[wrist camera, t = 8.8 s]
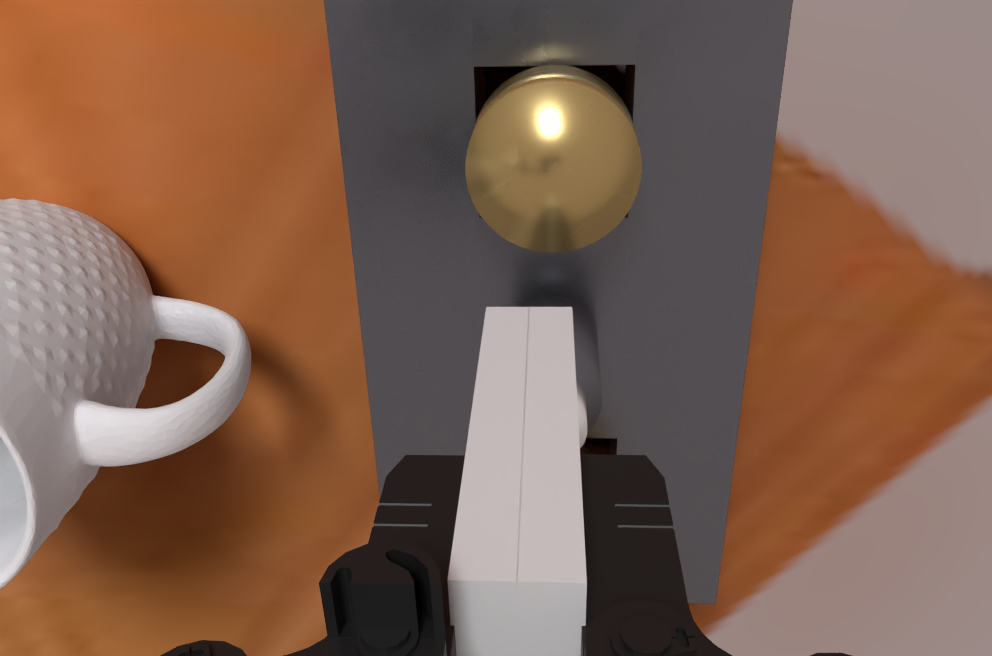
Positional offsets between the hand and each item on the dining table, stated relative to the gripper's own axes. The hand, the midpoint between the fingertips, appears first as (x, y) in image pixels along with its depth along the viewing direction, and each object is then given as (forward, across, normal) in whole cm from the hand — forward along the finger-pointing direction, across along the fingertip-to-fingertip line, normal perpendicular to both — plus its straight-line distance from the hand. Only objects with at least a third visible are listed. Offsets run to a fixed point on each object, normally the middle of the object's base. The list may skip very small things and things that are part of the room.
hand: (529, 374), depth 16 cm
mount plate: (+18, +1, -7) cm, 20 cm away
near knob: (+18, +1, 0) cm, 18 cm away
